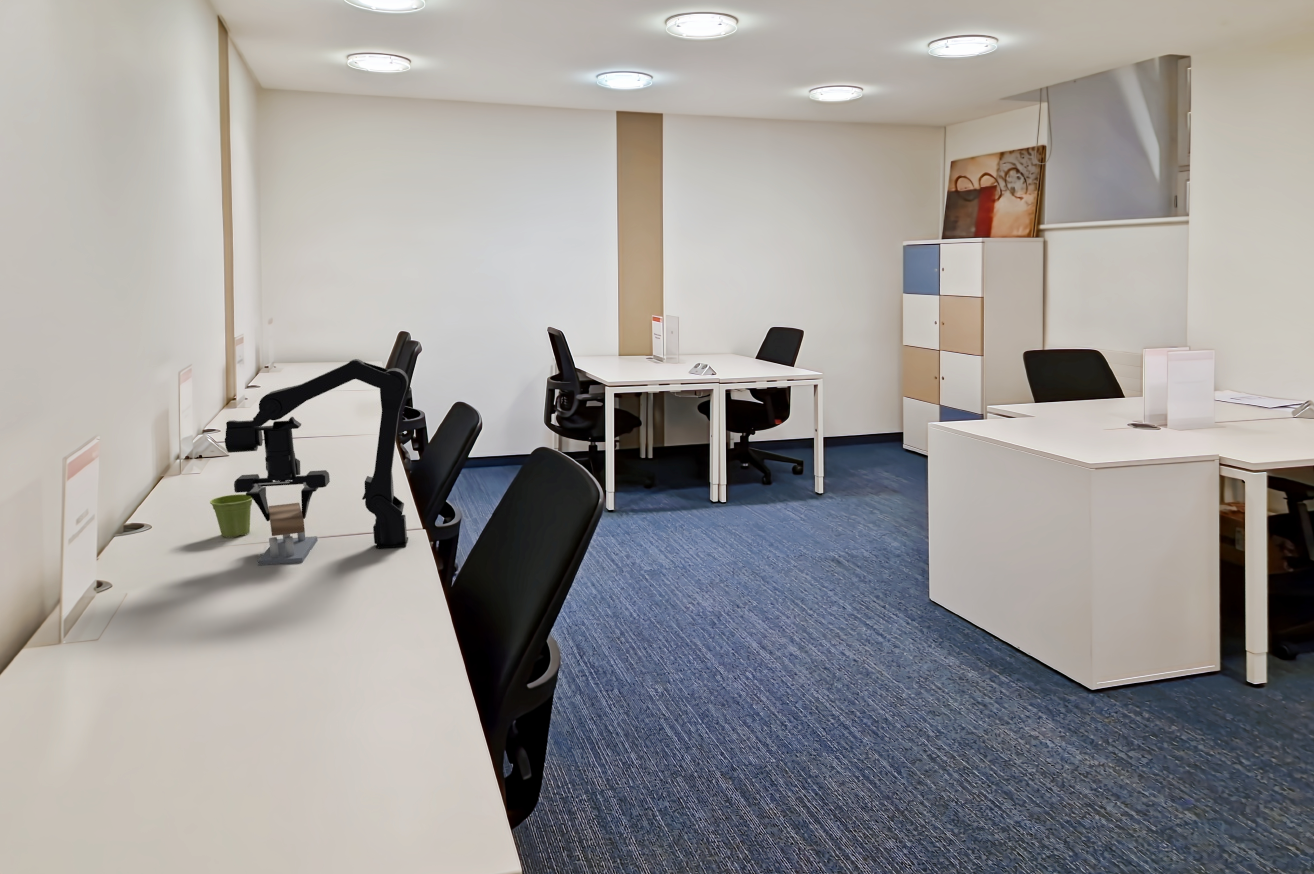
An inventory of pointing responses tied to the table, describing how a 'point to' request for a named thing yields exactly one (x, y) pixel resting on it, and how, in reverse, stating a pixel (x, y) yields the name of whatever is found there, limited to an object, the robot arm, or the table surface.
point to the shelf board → (286, 519)
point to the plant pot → (233, 514)
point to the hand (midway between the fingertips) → (286, 519)
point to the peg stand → (287, 549)
